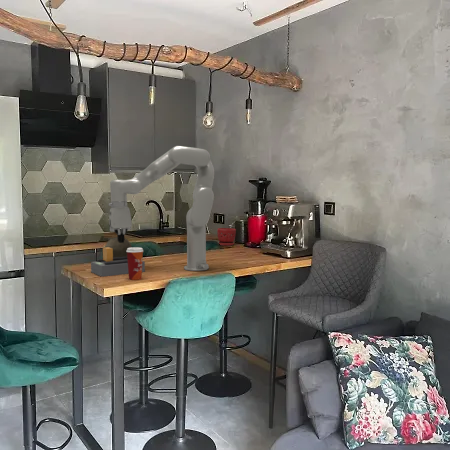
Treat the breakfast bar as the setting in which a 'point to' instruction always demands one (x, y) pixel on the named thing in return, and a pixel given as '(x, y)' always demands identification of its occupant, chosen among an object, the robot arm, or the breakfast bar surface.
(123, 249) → the cantaloupe
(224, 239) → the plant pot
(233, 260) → the breakfast bar surface
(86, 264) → the breakfast bar surface
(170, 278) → the breakfast bar surface
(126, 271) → the grey open box
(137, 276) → the paper cup
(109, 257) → the lever
